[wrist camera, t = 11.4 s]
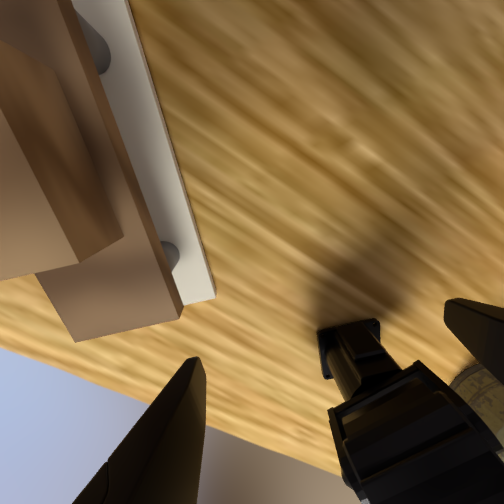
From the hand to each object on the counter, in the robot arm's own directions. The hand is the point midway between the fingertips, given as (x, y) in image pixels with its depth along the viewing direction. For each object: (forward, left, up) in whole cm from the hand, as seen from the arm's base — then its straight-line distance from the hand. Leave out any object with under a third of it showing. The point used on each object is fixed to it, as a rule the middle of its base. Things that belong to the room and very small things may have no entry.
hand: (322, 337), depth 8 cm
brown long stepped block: (+8, +11, -8) cm, 16 cm away
